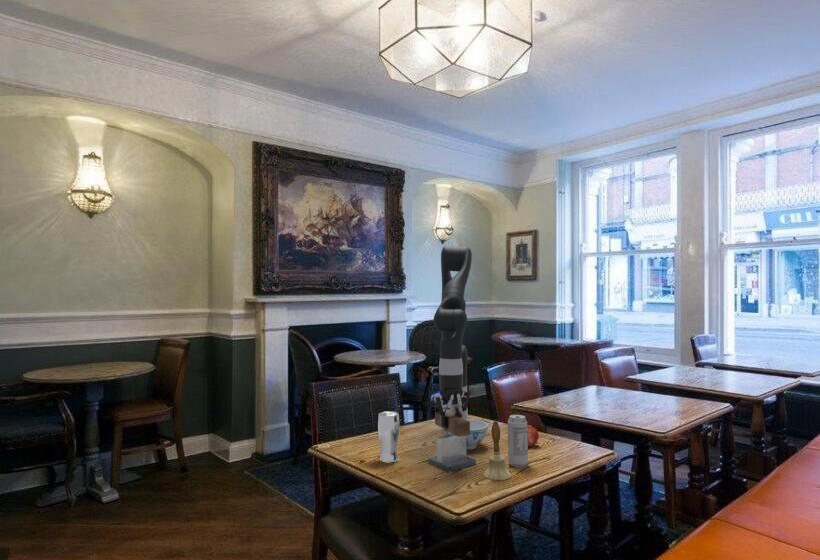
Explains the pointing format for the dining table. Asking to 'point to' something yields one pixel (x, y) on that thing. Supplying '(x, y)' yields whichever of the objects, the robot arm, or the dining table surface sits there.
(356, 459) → the dining table surface
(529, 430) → the pomegranate
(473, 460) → the stand
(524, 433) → the energy drink can
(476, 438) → the chinaware
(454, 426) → the walnut plank
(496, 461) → the hand bell
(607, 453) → the dining table surface
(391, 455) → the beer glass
